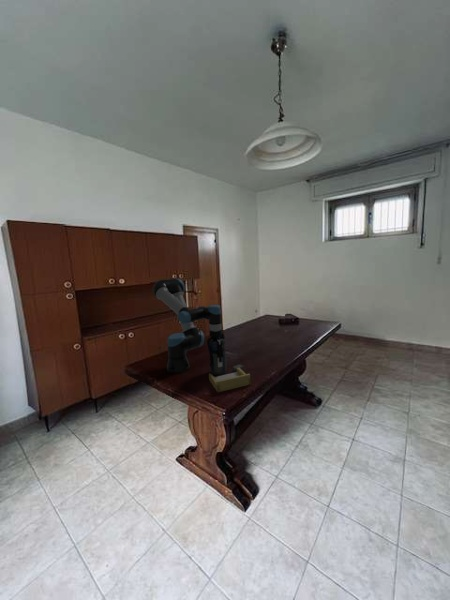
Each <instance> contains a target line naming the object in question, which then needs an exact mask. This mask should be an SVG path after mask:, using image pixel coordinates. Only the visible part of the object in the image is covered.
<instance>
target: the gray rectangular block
mask: <svg viewBox="0 0 450 600" xmlns="http://www.w3.org/2000/svg"><path fill="white" fill-rule="evenodd" d="M237 368H240V369H241V370H242V371H244V370H245V366H244V365H242V364H236V365H234V366H232V372H233V373H235V372H237Z"/></svg>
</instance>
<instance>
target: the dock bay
mask: <svg viewBox="0 0 450 600" xmlns="http://www.w3.org/2000/svg"><path fill="white" fill-rule="evenodd" d="M208 379H209V382H210V383H211V384H212V386H213V388H214V389H215V391H216V392H217V393H220V392H221V393H222V392H225V391H229V390H233V389H237V388H242V387H245V386H250V385H251V374H250V373H246V372H245V371H244V370H243V371H242V370H241V369H240V368H237V372H231V373H227V374H226V373H225V374H222V375H216V376H214V374H212V373H209V374H208Z"/></svg>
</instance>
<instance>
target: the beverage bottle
mask: <svg viewBox="0 0 450 600" xmlns="http://www.w3.org/2000/svg"><path fill="white" fill-rule="evenodd" d="M225 337H226V336H225V333H223V332H222V336H220V337H219V339H220V341H222V350H223V357H222V367H218V358H217V357H218V354H217V350H218V346H217V342H216V341H214V340H215V338H213V337H208V339H207V340H206V345H207V349H208V353H209V362H210V364H209V367H210V372H211V374H212V375H213V376H214V375H216V376H222V375H226V372H227V371H228V370H227V367H228V366H227V350H226V345H227V344H226V338H225ZM213 339H214V340H213Z"/></svg>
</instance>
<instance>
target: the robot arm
mask: <svg viewBox="0 0 450 600" xmlns="http://www.w3.org/2000/svg"><path fill="white" fill-rule="evenodd" d="M185 290H186V287H185V284H184V282H183V280H182V279H181V278H167V279H159V280H157V281H156V282H155V283H154V284H153V286H152V293H153V295H154V297H155V298H156V299H157V300H160V301H162V302H163V303H164V304H165V305H166V306H167V307H168V308H169V309H170V310H172V311H173V312H174V313H175V314H176V316H177V319H178V322H179V323H180V326H181V329H182V331H181V332H176V333H173V334H170V335H169V336H168V337H167V344H166V345H167V352H168V353H167V354H168V360H167V365H166V370H167V372H168V373H171V374H181V373H185V372H187V371H188V370H189V369H190V367H191V366H190V362H189V359H188V356H187V352H188V351H191V350H194V349H198V348H200V347H202V346H203V345H204V342H205V334H204V332H203V330H201V329H198V326H196V325H195V324H194V322H196V321H201V320H208V326H209V327H208V328H209V338H211V337H213V338H215V340H214V339H213V340H214V341H216V342H217V346H218V350H217V354H218V357H217V358H218V367H222V357H223V350H222V341H220V339H219V337H220V336H222V333H223V332H222V331H223V330H222V325H223V324H222V310H221V306H220V305H219V304H210V305H209V306H208V307H207V306H204V305H203V306H202V305H201V306H197V307H196V308H192V309H190V308H189V307H188V306H187V303H186V301H185V297H184V295H185Z"/></svg>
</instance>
